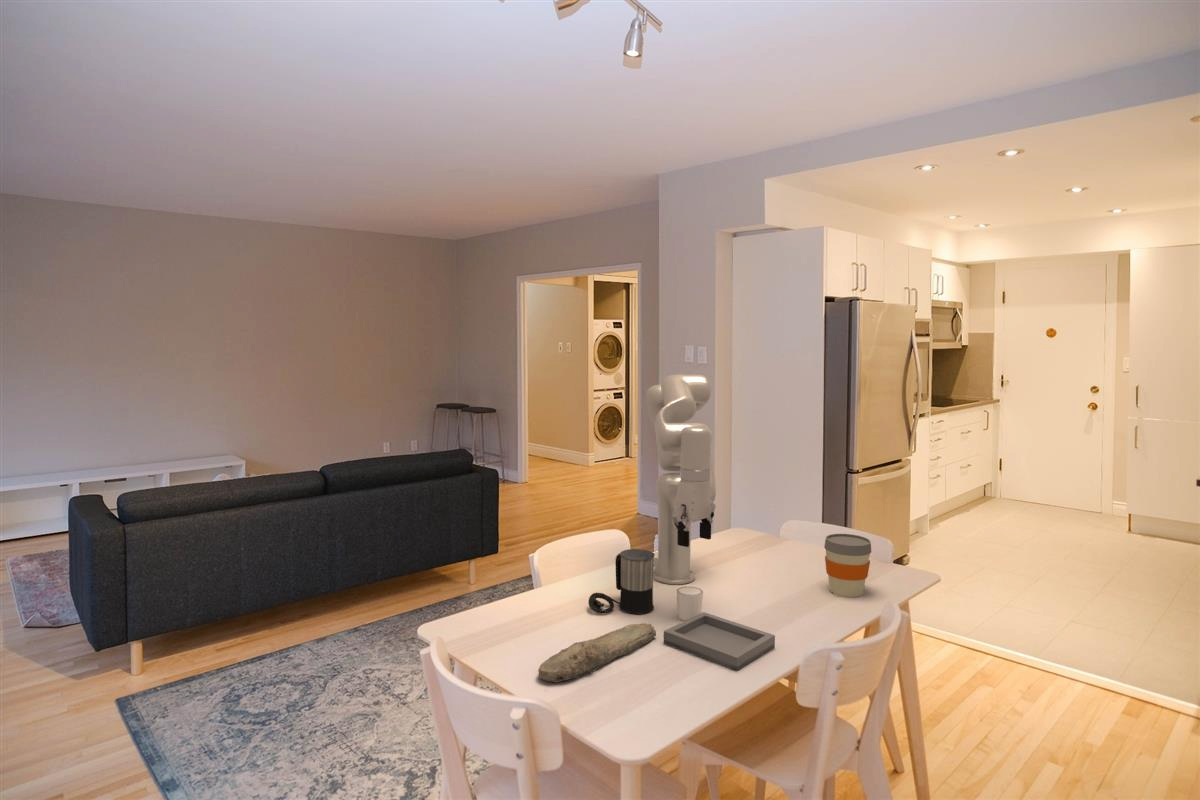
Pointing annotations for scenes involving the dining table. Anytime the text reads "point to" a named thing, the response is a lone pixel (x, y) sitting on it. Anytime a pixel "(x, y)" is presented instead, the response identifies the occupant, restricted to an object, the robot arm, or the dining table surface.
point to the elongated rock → (595, 652)
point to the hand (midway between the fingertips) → (694, 542)
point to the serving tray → (719, 640)
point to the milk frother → (630, 583)
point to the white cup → (689, 602)
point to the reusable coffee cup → (847, 563)
